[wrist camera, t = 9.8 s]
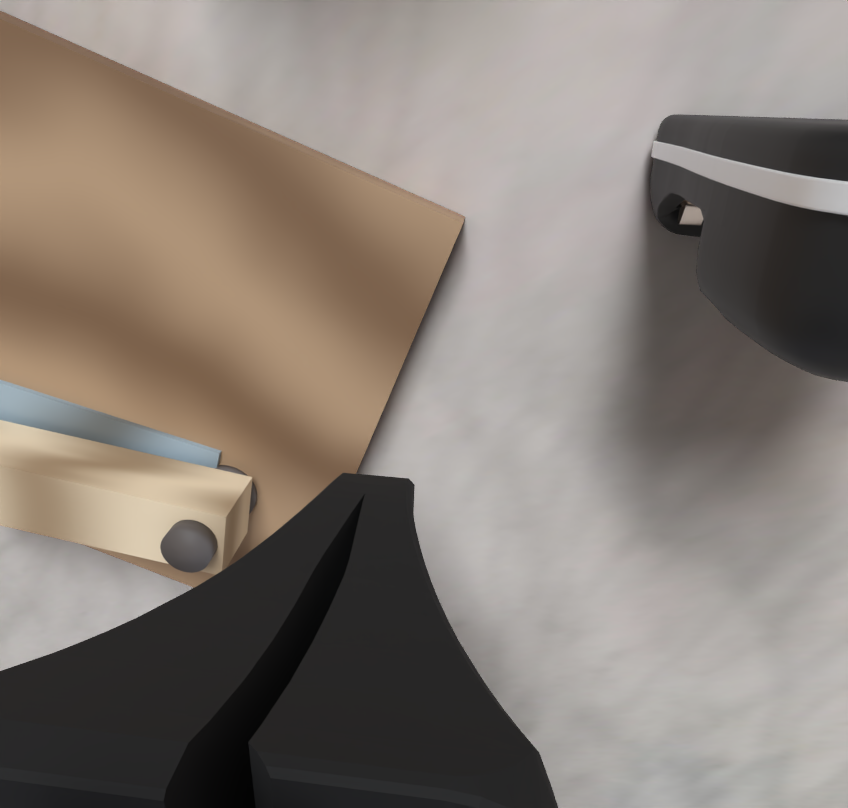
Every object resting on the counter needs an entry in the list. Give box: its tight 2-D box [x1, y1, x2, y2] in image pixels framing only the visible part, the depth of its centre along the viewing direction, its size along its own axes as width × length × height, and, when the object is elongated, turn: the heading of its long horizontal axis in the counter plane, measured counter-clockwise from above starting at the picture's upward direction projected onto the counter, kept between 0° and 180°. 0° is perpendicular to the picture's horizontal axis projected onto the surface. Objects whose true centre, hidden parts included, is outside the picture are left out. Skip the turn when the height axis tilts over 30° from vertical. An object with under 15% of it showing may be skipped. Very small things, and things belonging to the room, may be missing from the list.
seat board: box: [0, 11, 465, 588], centre depth 22 cm, size 17×15×2 cm
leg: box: [0, 420, 252, 575], centre depth 22 cm, size 11×2×3 cm, turn 79°
